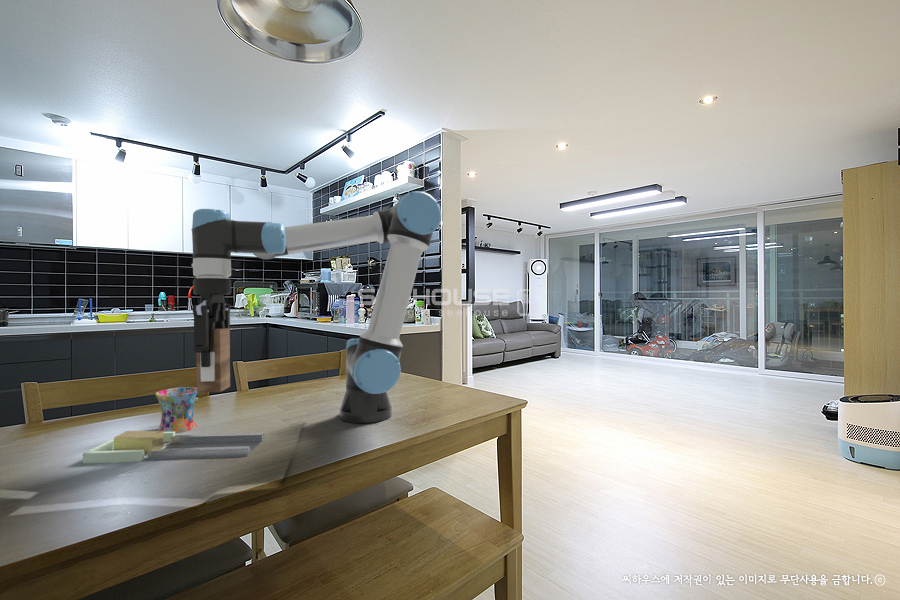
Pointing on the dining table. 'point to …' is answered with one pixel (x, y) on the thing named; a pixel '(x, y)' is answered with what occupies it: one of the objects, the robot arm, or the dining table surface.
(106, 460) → the tray
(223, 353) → the block
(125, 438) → the chip
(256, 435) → the slot rail
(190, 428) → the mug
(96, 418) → the dining table surface
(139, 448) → the tan boxy piece
